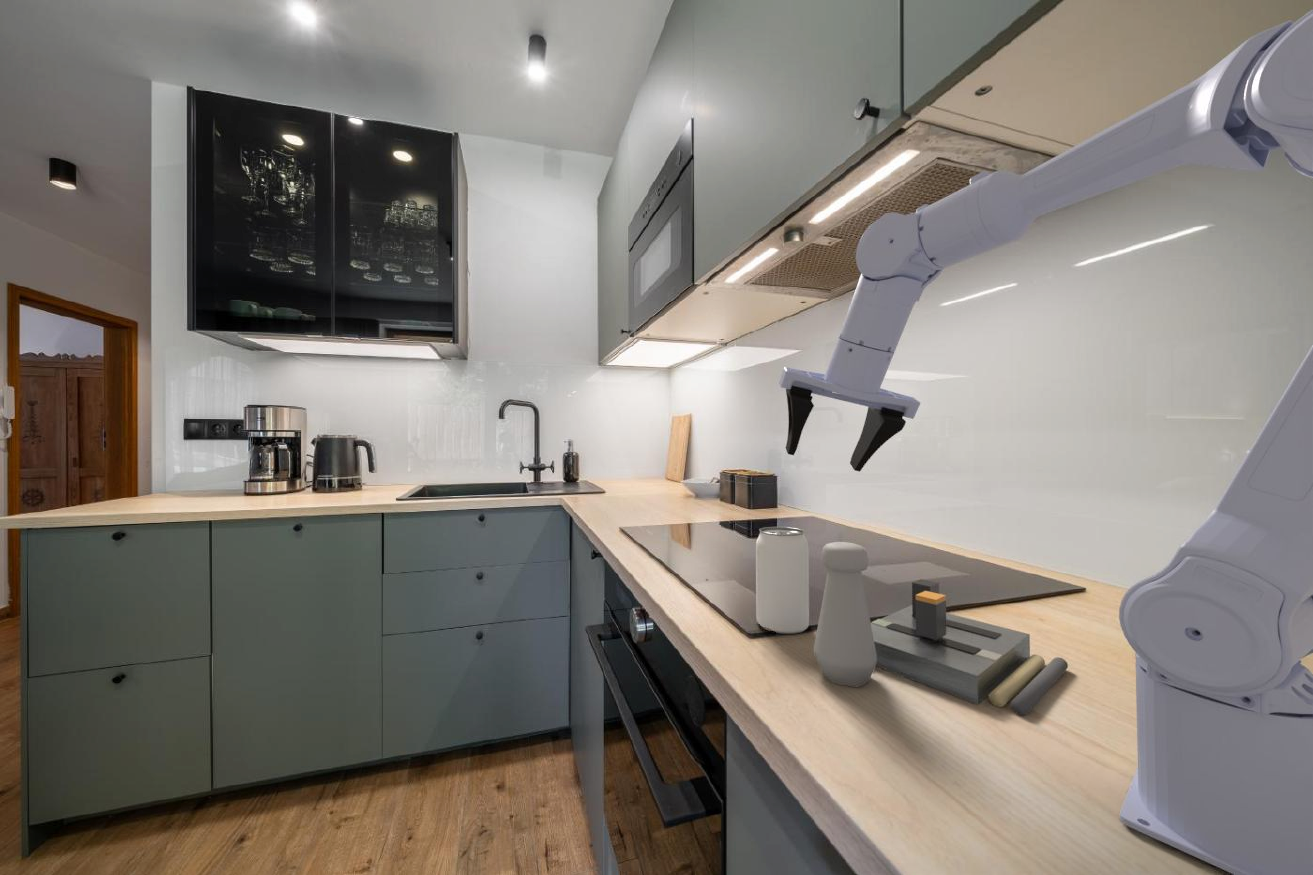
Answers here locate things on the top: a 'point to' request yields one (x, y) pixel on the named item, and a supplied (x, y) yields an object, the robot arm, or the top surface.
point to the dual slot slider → (949, 651)
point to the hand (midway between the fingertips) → (822, 459)
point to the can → (782, 580)
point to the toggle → (931, 615)
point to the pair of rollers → (1033, 689)
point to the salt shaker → (845, 618)
